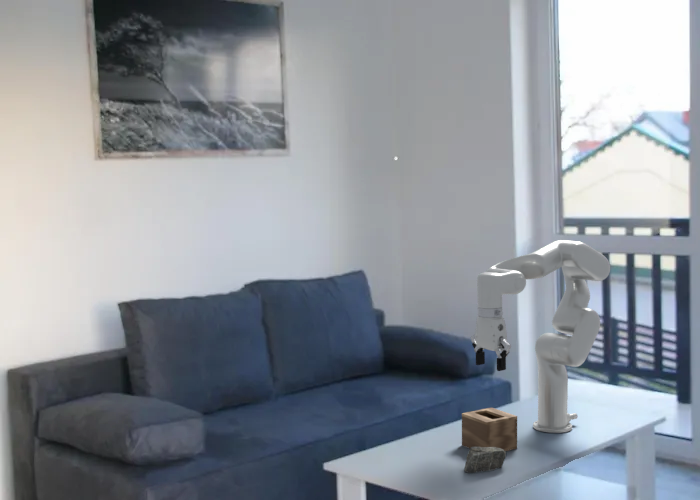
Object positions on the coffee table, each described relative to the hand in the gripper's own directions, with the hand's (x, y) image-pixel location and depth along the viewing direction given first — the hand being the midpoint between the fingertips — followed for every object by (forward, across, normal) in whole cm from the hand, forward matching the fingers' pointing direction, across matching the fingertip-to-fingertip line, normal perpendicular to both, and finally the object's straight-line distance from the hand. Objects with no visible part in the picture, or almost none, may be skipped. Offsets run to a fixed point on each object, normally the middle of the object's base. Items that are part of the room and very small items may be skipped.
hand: (490, 367), depth 281 cm
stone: (+25, -15, +16) cm, 33 cm away
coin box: (+25, -1, +2) cm, 25 cm away
